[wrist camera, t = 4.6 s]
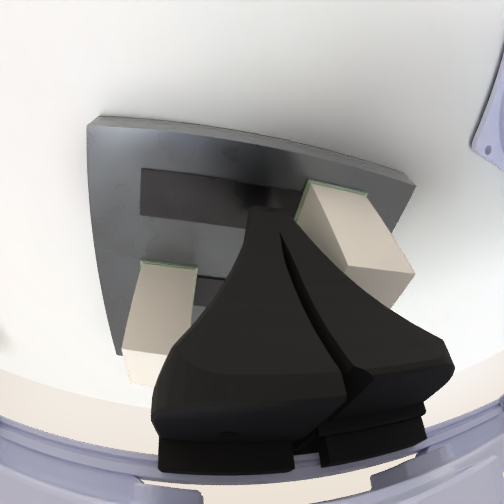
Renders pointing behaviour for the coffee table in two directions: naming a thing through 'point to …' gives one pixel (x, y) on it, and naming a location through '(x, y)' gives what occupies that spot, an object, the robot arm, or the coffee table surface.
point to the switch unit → (202, 199)
